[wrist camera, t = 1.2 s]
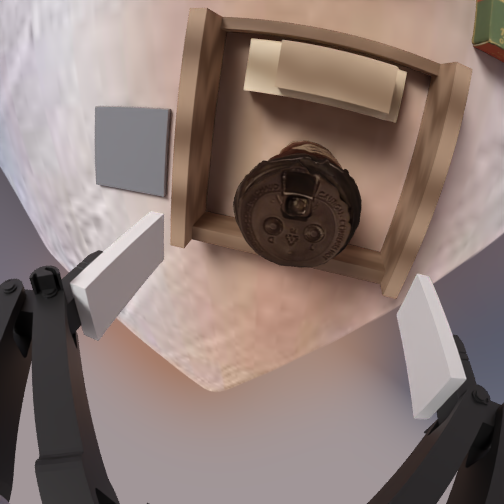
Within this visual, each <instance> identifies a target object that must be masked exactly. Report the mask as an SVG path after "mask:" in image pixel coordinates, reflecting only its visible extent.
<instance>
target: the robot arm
mask: <svg viewBox="0 0 504 504" xmlns="http://www.w3.org/2000/svg"><path fill="white" fill-rule="evenodd" d="M163 259H164V214H162V213H157V212H153V211H150V212H149V213H148V214H147V215H146V216H144V217H143V218H142V219H141V220H140V221H138V222H137V223H136V224H135V225H134V226H132V227H131V228H130V229H129V230H128V231H127V232H125V233H124V234H123V235H122V236H121V237H120V238H118V239H117V240H116V241H115V242H114V243H113V244H112V245H110V246H109V247H108V248H107V249H106V250H105V251H104V252H103V251H99V250H98V251H96V252H94V253H92V254H90V255H88V256H87V257H86V258H85V259H84V260H83V261H82V262H81V263H79V264H78V265H77V267H75V268H74V269H73V270H72V271H71V272H69V273H68V274H67V275H66V276H65V277H64V278H63V279H62V280H61V277H60V272H59V269H57V268H56V267H54V266H43V267H40V268H38V269H36V270H34V272H33V273H32V274H31V275H30V281H31V284H32V288H33V290H25V289H24V287H23V284H22V282H21V281H20V280H19V279H9V280H7V281H5V282H4V283H2V284H1V285H0V504H9V500H10V495H11V491H12V484H13V475H14V473H13V472H14V461H15V450H16V441H17V433H18V426H19V420H20V414H21V408H22V402H23V397H24V392H25V387H26V382H27V378H28V374H29V369H30V365H31V361H32V385H33V402H34V414H35V423H36V432H37V440H38V447H39V454H40V456H39V459H37V460H36V462H35V473H36V478H37V482H38V487H39V492H40V496H41V500H42V504H120V503H119V501H118V498H117V496H116V493H115V491H114V489H113V487H112V485H111V483H110V481H109V479H108V477H107V474H106V470H105V467H104V464H103V461H102V457H101V454H100V450H99V446H98V443H97V439H96V435H95V431H94V427H93V423H92V418H91V414H90V409H89V404H88V399H87V394H86V389H85V383H84V377H83V371H82V364H81V358H80V350H79V342H78V335H77V332H76V330H77V329H78V328H79V327H80V326H82V330H83V333H84V335H86V336H88V337H91V338H93V339H95V340H97V341H98V340H99V339H100V338H101V337H102V335H103V334H104V333H105V331H106V330H107V329H108V327H109V326H110V325H111V323H112V322H113V321H114V320H115V319H116V317H117V316H118V315H119V313H120V312H121V311H122V310H123V308H124V307H125V306H126V305H127V303H128V302H129V301H130V300H131V298H132V297H133V296H134V295H135V293H136V292H137V291H138V290H139V288H140V287H141V286H142V285H143V284H144V282H145V281H146V280H147V279H148V277H149V276H150V275H151V274H152V273H153V271H154V270H155V269H156V268H157V267H158V265H159V264H160V263H161V262H162V261H163ZM397 319H398V324H399V329H400V333H401V339H402V344H403V349H404V354H405V360H406V365H407V372H408V379H409V385H410V393H411V399H412V408H413V417H414V419H429V418H431V417H432V416H433V415H434V414H435V413H436V412H437V417H438V419H437V420H436V421H435V422H434V423H433V424H432V425H431V426H430V427H429V428H428V429H427V430H426V431H425V432H424V433H426V435H425V436H424V437H423V439H422V440H421V441H420V443H419V444H418V445H417V447H416V448H415V449H414V451H413V452H412V453H411V455H410V456H409V457H408V458H407V459H406V461H405V462H404V463H403V465H402V466H401V467H400V468H399V469H398V470H397V472H396V473H395V474H394V475H393V476H392V477H391V478H390V480H389V481H388V482H387V483H386V484H385V485H384V486H383V487H382V489H381V490H380V491H379V492H378V493H377V494H376V495H375V496H374V497H373V498H372V499H371V500H370V501H369V502H368V503H367V504H436V503H437V502H438V501H439V499H440V498H441V496H442V495H443V493H444V492H445V490H446V488H447V487H448V485H449V484H450V482H451V481H452V479H453V477H454V476H455V474H456V472H457V471H458V472H457V475H456V478H455V481H454V484H453V487H452V490H451V492H450V495H449V498H448V501H447V503H446V504H504V403H503V404H502V405H500V404H497V403H495V402H492V401H491V400H490V396H489V394H488V392H487V391H486V390H485V389H484V388H483V387H482V386H480V385H477V384H476V381H475V377H474V374H473V371H472V368H471V365H470V362H469V361H468V356H467V354H466V350H465V348H464V344H463V343H462V341H461V340H460V339H459V337H458V336H457V335H453V334H452V332H451V330H450V327H449V324H448V322H447V319H446V316H445V314H444V311H443V308H442V306H441V303H440V301H439V298H438V296H437V293H436V291H435V289H434V286H433V284H432V281H431V279H430V277H429V276H425V275H421V274H417V275H416V277H415V279H414V281H413V283H412V285H411V287H410V289H409V291H408V293H407V295H406V297H405V299H404V301H403V303H402V305H401V307H400V309H399V311H398V313H397ZM147 504H148V503H147Z"/></svg>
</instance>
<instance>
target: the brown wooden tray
mask: <svg viewBox="0 0 504 504" xmlns="http://www.w3.org/2000/svg"><path fill="white" fill-rule="evenodd" d="M227 32H241V33H253V34H262V35H271V36H279V37H286V38H293V39H299V40H305V41H310V42H315V43H321V44H325V45H330V46H335V47H339V48H343V49H348V50H352V51H355V52H359V53H363V54H367V55H370V56H374V57H377V58H381V59H384V60H387V61H390V62H393V63H396V64H399V65H402V66H405V67H408V68H411V69H414V70H416V71H419V72H422V73H424V74H427V75H430V76H431V80H430V86H429V90H428V95H427V100H426V104H425V109H424V113H423V118H422V122H421V126H420V130H419V134H418V138H417V141H416V145H415V149H414V153H413V156H412V160H411V163H410V167H409V170H408V173H407V177H406V180H405V183H404V186H403V189H402V193H401V196H400V199H399V202H398V205H397V208H396V211H395V214H394V217H393V219H392V222H391V225H390V228H389V231H388V233H387V236H386V239H385V242H384V244H383V247H382V249H381V252H377V251H373V250H369V249H365V248H362V247H358V246H354V245H350V244H348V245H347V246H346V247H345V249H344V250H343V251H342V252H341V253H339V254H338V255H337V256H335V257H334V258H332V259H331V260H329V261H328V262H327V263H325V264H321V265H318V266H314V267H311V268H315V269H319V270H323V271H328V272H332V273H336V274H340V275H344V276H349V277H353V278H357V279H361V280H365V281H370V282H374V283H378V284H381V289H382V294H383V296H385V297H390V298H394V299H396V298H397V296H398V294H399V292H400V290H401V288H402V286H403V284H404V282H405V280H406V278H407V275H408V273H409V271H410V269H411V267H412V264H413V262H414V260H415V258H416V255H417V253H418V251H419V248H420V246H421V244H422V241H423V239H424V236H425V234H426V231H427V229H428V226H429V224H430V221H431V218H432V216H433V213H434V210H435V208H436V205H437V202H438V199H439V197H440V194H441V191H442V188H443V185H444V182H445V179H446V176H447V173H448V169H449V166H450V163H451V160H452V156H453V153H454V149H455V146H456V142H457V138H458V135H459V131H460V127H461V123H462V119H463V114H464V110H465V105H466V101H467V96H468V91H469V86H470V80H471V75H472V69H471V68H469V67H466V66H464V65H462V64H460V63H458V62H453V63H446V64H438V63H436V62H434V61H431V60H429V59H426V58H423V57H421V56H418V55H415V54H413V53H410V52H407V51H404V50H401V49H398V48H395V47H392V46H389V45H386V44H383V43H379V42H376V41H372V40H369V39H365V38H361V37H358V36H354V35H350V34H346V33H341V32H337V31H332V30H327V29H322V28H317V27H312V26H306V25H300V24H294V23H287V22H279V21H270V20H261V19H249V18H234V17H221V16H220V15H218V14H216V13H215V12H213V11H211V10H210V9H208V8H190V11H189V17H188V23H187V29H186V36H185V43H184V50H183V58H182V66H181V74H180V83H179V92H178V102H177V113H176V125H175V139H174V154H173V172H172V195H171V245H172V246H176V247H180V248H185V247H186V245H187V244H188V243H189V242H190V240H191V239H193V240H198V241H202V242H206V243H210V244H214V245H218V246H223V247H227V248H231V249H235V250H239V251H244V252H248V253H252V254H256V255H258V254H257V253H256V252H255V251H254V250H253V249H252V248H251V247H250V246H249V245H248V243H247V242H246V241H245V239H244V237H243V235H242V233H241V231H240V229H239V227H238V225H237V222H236V219H235V217H230V216H226V215H221V214H216V213H212V212H207V211H206V201H207V189H208V178H209V168H210V158H211V148H212V139H213V130H214V121H215V113H216V105H217V97H218V89H219V81H220V74H221V67H222V60H223V53H224V46H225V40H226V33H227Z"/></svg>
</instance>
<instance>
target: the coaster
mask: <svg viewBox="0 0 504 504" xmlns="http://www.w3.org/2000/svg"><path fill="white" fill-rule="evenodd" d="M170 114H171V109H163V108H147V107H125V106H96V107H95V167H96V184H98V185H103V186H109V187H115V188H120V189H125V190H131V191H136V192H142V193H147V194H152V195H157V196H162V197H164V196H165V195H166V181H167V159H168V141H169V127H170Z"/></svg>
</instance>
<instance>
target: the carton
mask: <svg viewBox="0 0 504 504" xmlns="http://www.w3.org/2000/svg"><path fill="white" fill-rule="evenodd" d="M472 44H474V45H473V46H474V47H476V48H478V49H480V50H482V51H483V52H485V53H487V54H489V55H491V56H493V57H494V58H496V59H498V60H500V61H502V62H503V63H504V0H476V13H475V23H474V31H473V37H472Z"/></svg>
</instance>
